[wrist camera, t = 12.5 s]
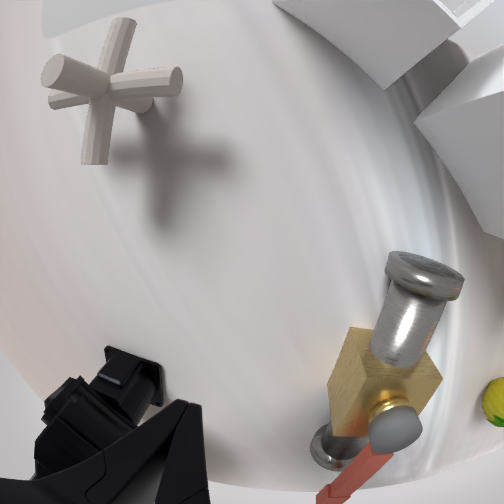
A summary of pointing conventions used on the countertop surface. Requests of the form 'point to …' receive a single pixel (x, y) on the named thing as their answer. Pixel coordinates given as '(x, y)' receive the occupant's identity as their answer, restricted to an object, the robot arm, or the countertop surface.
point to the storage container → (447, 102)
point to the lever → (374, 452)
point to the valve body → (386, 358)
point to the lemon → (494, 402)
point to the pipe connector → (107, 88)
